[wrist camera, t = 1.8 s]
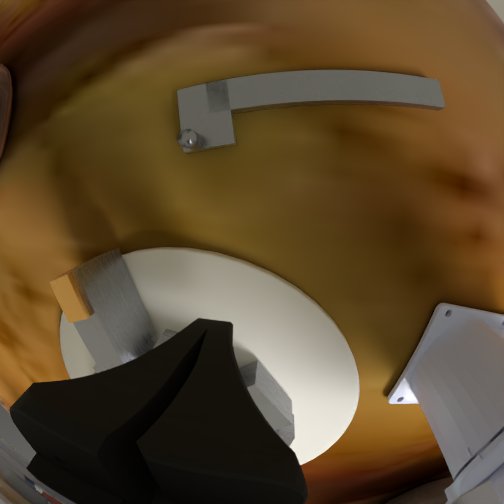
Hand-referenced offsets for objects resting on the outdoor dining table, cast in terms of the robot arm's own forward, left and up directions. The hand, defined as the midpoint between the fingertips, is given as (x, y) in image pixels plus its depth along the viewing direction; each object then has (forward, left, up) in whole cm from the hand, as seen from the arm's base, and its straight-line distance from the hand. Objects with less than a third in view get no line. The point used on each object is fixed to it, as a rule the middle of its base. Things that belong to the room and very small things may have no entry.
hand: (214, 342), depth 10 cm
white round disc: (+1, +9, -4) cm, 10 cm away
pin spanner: (-2, -10, -5) cm, 12 cm away
